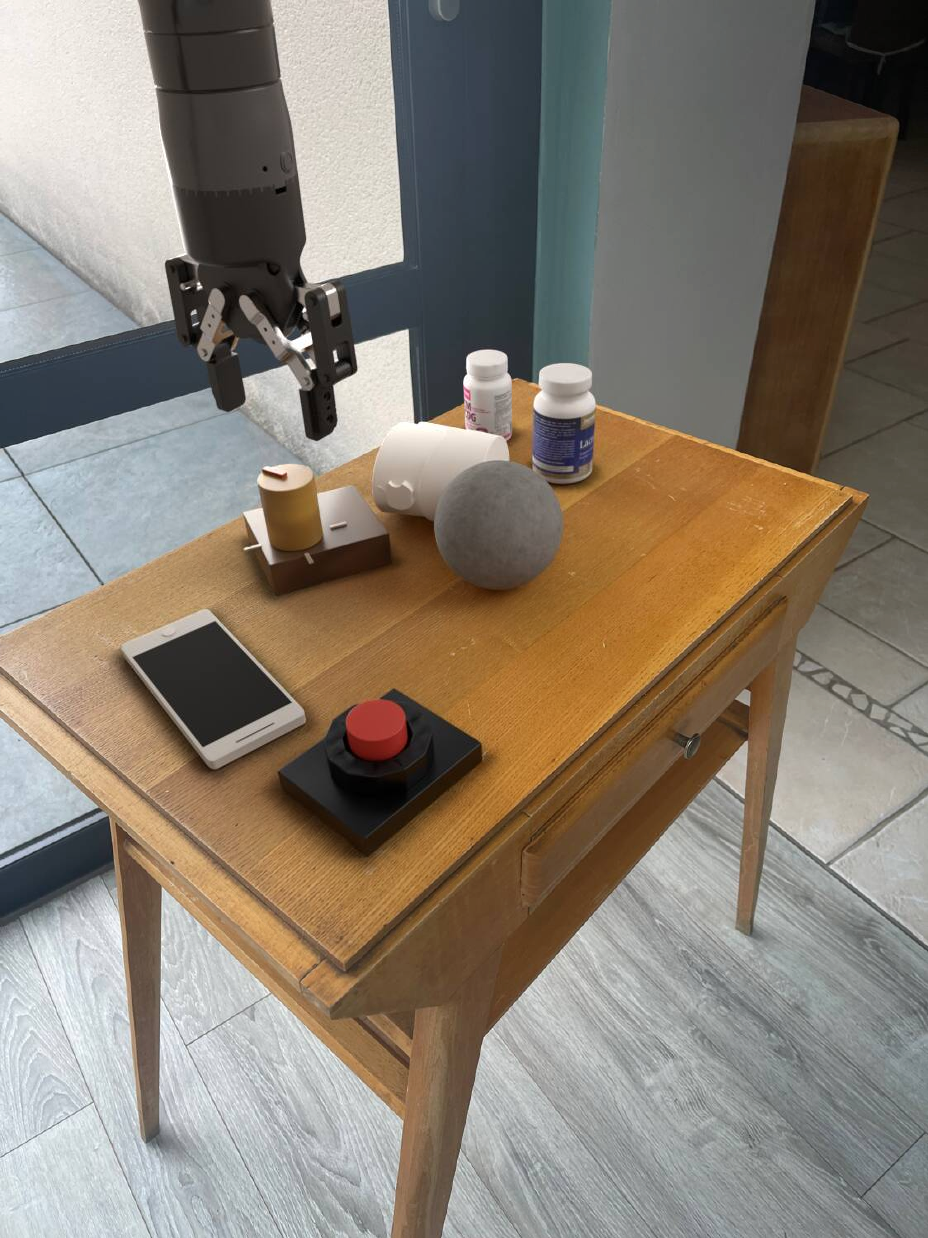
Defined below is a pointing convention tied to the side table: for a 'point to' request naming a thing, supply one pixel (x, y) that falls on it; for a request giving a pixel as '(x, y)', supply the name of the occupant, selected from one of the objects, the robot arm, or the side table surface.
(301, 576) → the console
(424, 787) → the button box
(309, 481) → the knob
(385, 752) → the button
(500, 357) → the pill bottle
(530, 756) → the side table surface
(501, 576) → the decorative ball
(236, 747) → the smartphone
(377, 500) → the mug
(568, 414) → the pill bottle
